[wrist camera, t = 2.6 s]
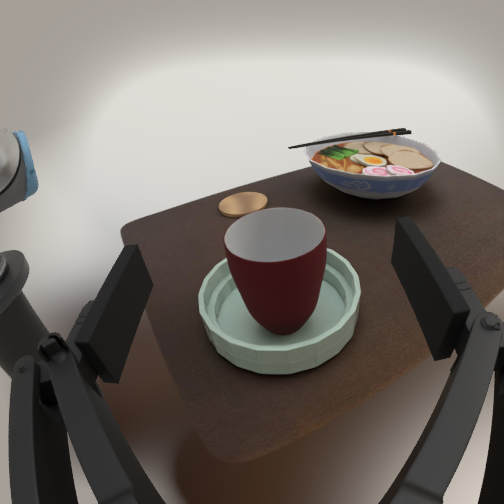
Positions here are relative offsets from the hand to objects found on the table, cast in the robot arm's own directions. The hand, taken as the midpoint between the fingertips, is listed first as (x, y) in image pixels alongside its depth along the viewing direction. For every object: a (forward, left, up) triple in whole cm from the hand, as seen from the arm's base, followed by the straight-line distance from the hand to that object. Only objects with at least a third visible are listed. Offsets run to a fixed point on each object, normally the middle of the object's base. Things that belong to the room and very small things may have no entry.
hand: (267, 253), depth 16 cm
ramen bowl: (+7, +39, -15) cm, 43 cm away
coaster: (-14, +32, -15) cm, 38 cm away
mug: (-3, +9, -14) cm, 17 cm away
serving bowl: (-3, +9, -15) cm, 18 cm away
